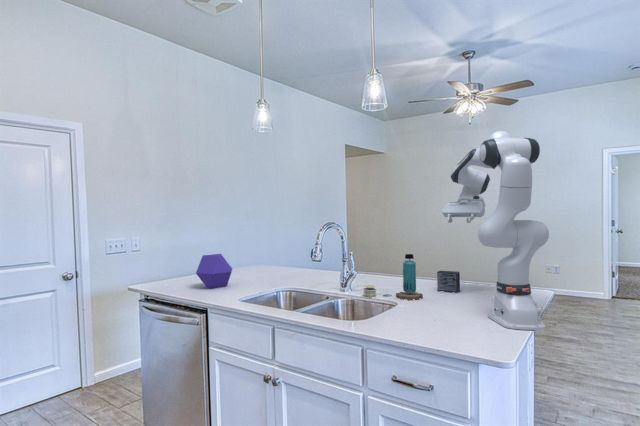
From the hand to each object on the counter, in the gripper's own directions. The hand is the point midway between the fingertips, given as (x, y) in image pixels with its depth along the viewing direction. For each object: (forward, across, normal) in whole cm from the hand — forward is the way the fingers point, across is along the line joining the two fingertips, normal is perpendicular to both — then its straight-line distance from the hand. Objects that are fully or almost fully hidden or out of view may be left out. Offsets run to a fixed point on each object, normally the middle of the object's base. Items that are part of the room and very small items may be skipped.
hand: (458, 221), depth 188 cm
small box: (+18, -11, +35) cm, 41 cm away
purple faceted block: (+70, -120, -17) cm, 141 cm away
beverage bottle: (+35, -20, +16) cm, 43 cm away
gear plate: (+36, -20, +17) cm, 44 cm away
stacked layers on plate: (+44, -36, +9) cm, 58 cm away
